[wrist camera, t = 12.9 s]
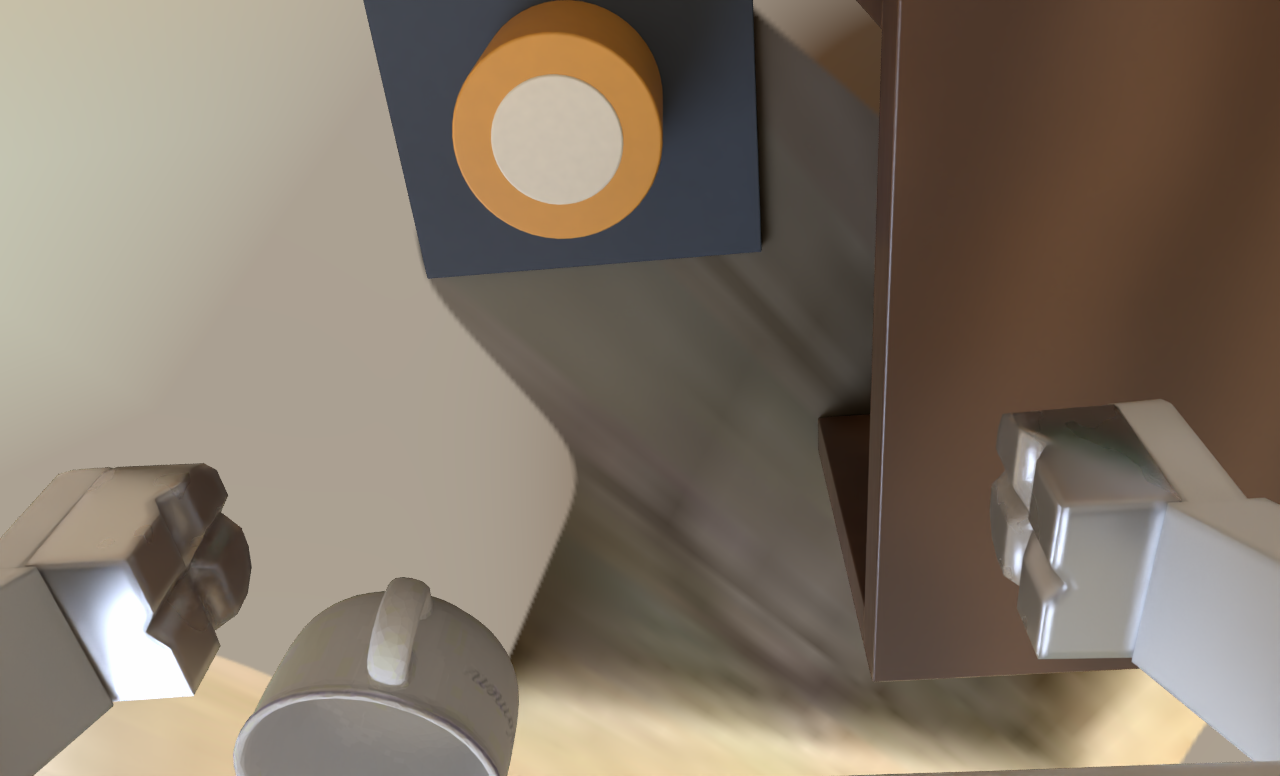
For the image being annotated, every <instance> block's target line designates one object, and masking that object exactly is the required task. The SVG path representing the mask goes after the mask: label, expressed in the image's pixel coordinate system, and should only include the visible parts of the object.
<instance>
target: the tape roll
mask: <svg viewBox="0 0 1280 776" xmlns="http://www.w3.org/2000/svg"><path fill="white" fill-rule="evenodd" d="M452 139H453V146H454V152H455V156H456V159H457V163H458V166H459V168H460V170H461V173H462V175H463V177H464V179H465V181H466V183H467V184H468V186H469V188H470V189H471V191H472V192H473V193H474V195H475V196H476V197H477V199H478V200H479V201H480V202H481V203H482V204H483V205H484V206H485V207H486V208H487V209H488V210H489V211H490V212H492V213H493V214H494V215H495V216H496V217H498V218H499V219H501V220H502V221H504V222H505V223H507V224H509V225H511V226H513V227H515V228H517V229H519V230H521V231H524V232H527V233H530V234H532V235H537V236H541V237H546V238H556V239H569V238H578V237H585V236H588V235H592V234H595V233H598V232H601V231H603V230H605V229H608V228H610V227H611V226H613V225H615V224H617V223H618V222H620V221H621V220H623V219H624V218H625V217H626V216H628V215H629V214H630V213H631V212H632V211H633V210H634V209H635V208H636V207H637V206H638V205H639V204H640V203H641V201H642V200H643V199H644V197H645V196H646V195H647V193H648V191H649V190H650V188H651V186H652V184H653V182H654V180H655V177H656V175H657V172H658V169H659V165H660V161H661V156H662V147H663V90H662V83H661V77H660V73H659V70H658V66H657V64H656V61H655V59H654V57H653V54H652V53H651V51H650V49H649V47H648V46H647V44H646V43H645V41H644V40H643V39H642V37H641V36H640V35H639V34H638V32H637V31H636V30H635V29H634V28H633V27H632V26H630V25H629V24H628V23H627V22H626V21H624V20H623V19H622V18H620V17H619V16H618V15H616V14H614V13H612V12H611V11H609V10H607V9H605V8H602V7H600V6H597V5H594V4H590V3H586V2H582V1H573V0H557V1H551V2H545V3H542V4H538V5H535V6H532V7H530V8H528V9H526V10H524V11H522V12H520V13H519V14H517V15H516V16H514V17H513V18H511V19H510V20H509V21H508V22H507V23H506V24H505V25H504V26H502V27H501V29H500V30H499V31H498V32H497V33H496V35H495V36H494V37H493V39H492V40H491V42H490V43H489V45H488V46H487V48H486V49H485V51H484V52H483V54H482V55H481V57H480V58H479V60H478V61H477V63H476V64H475V66H474V67H473V69H472V70H471V72H470V73H469V75H468V77H467V78H466V80H465V82H464V83H463V85H462V87H461V90H460V92H459V94H458V97H457V100H456V104H455V108H454V113H453V121H452Z"/></svg>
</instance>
